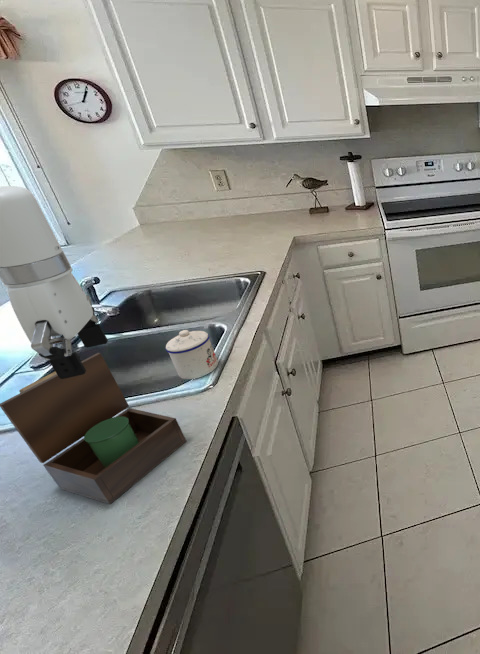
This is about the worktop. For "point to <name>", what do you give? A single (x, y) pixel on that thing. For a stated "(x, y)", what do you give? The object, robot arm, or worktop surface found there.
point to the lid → (64, 407)
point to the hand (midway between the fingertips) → (86, 359)
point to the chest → (110, 483)
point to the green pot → (111, 439)
